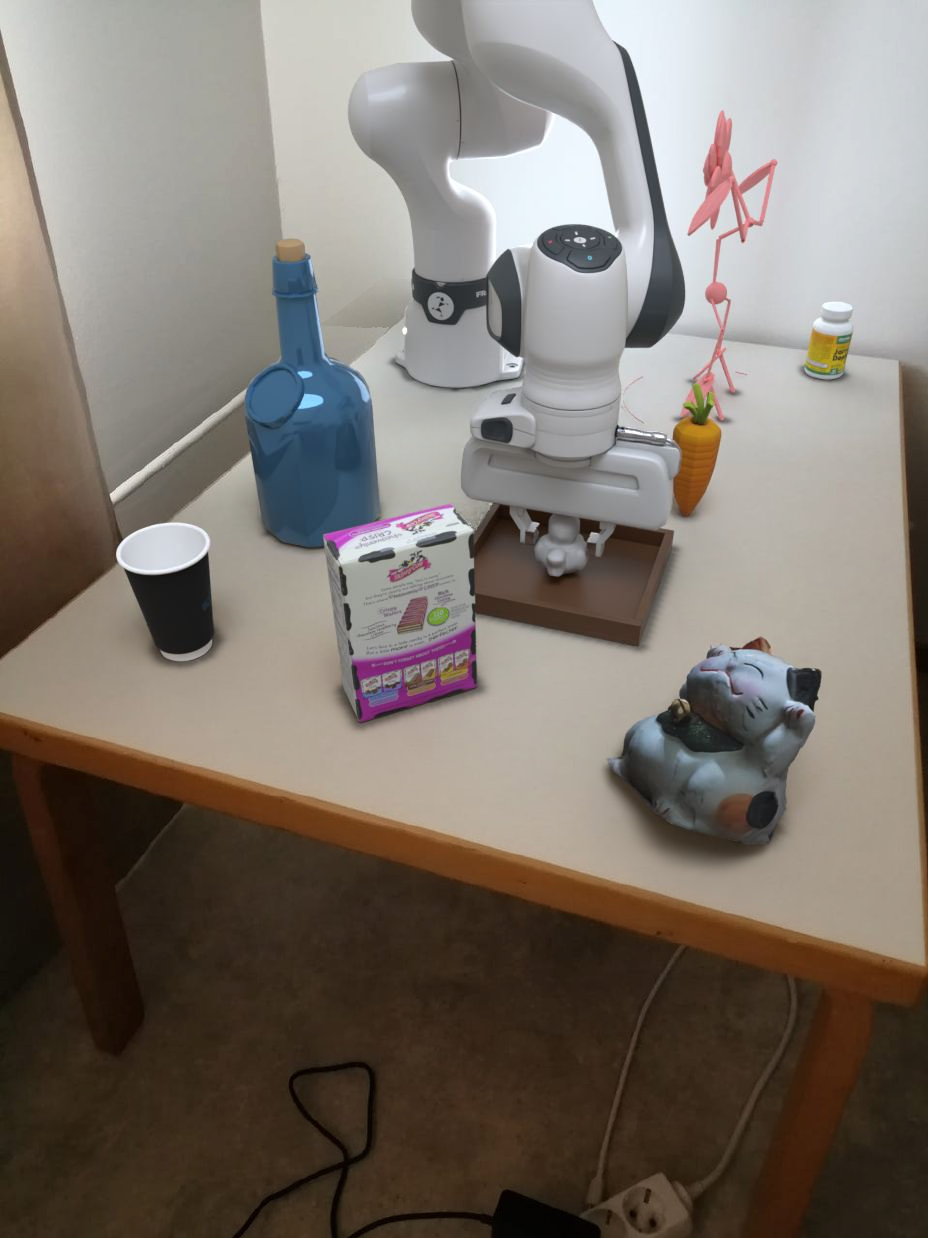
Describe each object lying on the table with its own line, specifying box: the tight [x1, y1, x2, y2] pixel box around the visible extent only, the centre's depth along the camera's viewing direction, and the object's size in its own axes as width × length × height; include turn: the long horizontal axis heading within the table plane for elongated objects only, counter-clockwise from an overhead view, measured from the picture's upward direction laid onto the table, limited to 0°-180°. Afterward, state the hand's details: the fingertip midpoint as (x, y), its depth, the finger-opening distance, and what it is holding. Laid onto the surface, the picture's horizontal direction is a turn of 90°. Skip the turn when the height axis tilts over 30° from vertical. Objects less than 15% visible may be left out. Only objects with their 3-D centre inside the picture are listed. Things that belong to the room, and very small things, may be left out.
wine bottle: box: [244, 238, 381, 548], centre depth 99 cm, size 14×13×30 cm
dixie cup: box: [115, 522, 215, 662], centre depth 87 cm, size 8×8×11 cm
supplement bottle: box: [804, 301, 854, 380], centre depth 135 cm, size 5×5×10 cm
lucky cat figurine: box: [606, 636, 823, 845], centre depth 72 cm, size 15×12×14 cm
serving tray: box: [473, 503, 675, 647], centre depth 98 cm, size 17×20×2 cm
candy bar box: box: [323, 503, 478, 723], centre depth 80 cm, size 11×5×16 cm, turn 114°
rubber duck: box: [534, 513, 589, 577], centre depth 96 cm, size 5×7×8 cm
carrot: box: [671, 382, 723, 517], centre depth 103 cm, size 5×5×15 cm
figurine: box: [621, 109, 778, 424], centre depth 121 cm, size 15×26×35 cm, turn 159°
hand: (561, 547), depth 97 cm, fingers closed on rubber duck, 5 cm apart
